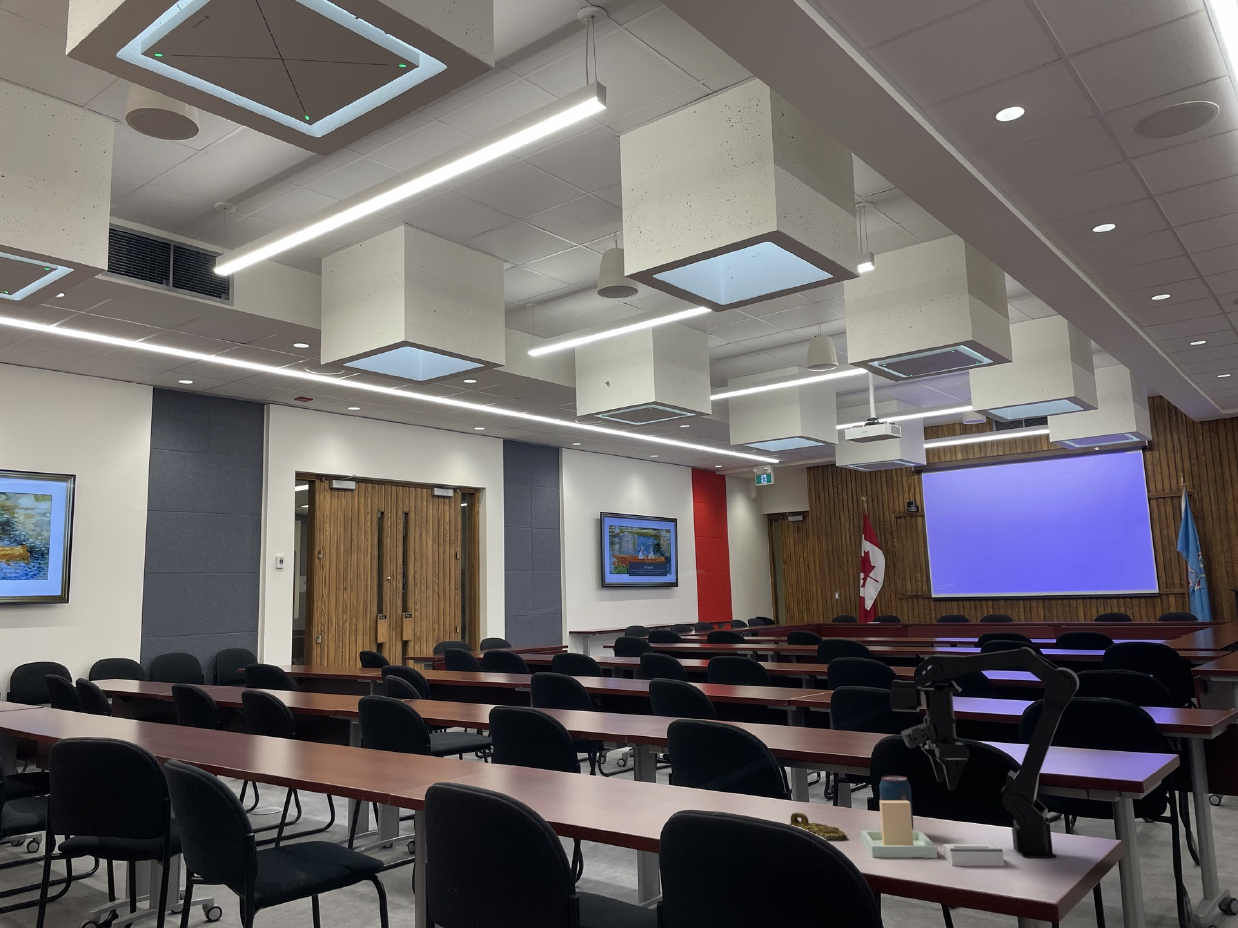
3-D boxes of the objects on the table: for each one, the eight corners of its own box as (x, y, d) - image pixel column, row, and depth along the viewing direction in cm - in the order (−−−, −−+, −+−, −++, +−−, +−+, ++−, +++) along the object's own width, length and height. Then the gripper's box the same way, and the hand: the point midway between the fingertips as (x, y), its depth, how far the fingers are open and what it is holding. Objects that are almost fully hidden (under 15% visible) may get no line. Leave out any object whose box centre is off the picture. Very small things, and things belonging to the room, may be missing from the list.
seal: (857, 841, 195) (799, 830, 205) (857, 819, 197) (799, 809, 207) (836, 845, 189) (778, 833, 199) (836, 822, 190) (778, 812, 200)
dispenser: (994, 857, 177) (992, 841, 177) (1004, 865, 171) (1003, 849, 171) (944, 856, 178) (942, 841, 178) (952, 865, 172) (951, 849, 172)
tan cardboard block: (910, 844, 185) (907, 800, 187) (913, 847, 183) (910, 802, 184) (882, 844, 186) (879, 800, 187) (884, 847, 183) (881, 802, 185)
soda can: (890, 827, 202) (886, 773, 204) (918, 831, 198) (914, 776, 200) (877, 833, 197) (873, 778, 199) (906, 837, 193) (902, 781, 195)
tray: (921, 840, 190) (921, 830, 190) (937, 857, 177) (936, 846, 177) (861, 840, 191) (860, 830, 191) (872, 856, 178) (871, 846, 179)
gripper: (894, 708, 202) (899, 777, 199) (912, 717, 183) (918, 795, 181) (943, 707, 200) (948, 777, 198) (966, 717, 182) (973, 795, 179)
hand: (945, 786), depth 189 cm, fingers open, 9 cm apart
